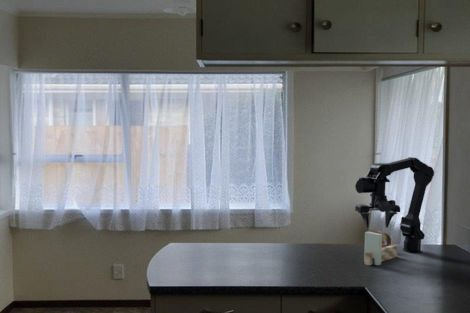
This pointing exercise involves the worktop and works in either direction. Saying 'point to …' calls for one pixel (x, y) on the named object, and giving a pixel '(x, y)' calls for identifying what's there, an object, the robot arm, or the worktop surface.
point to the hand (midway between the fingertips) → (377, 227)
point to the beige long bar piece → (382, 254)
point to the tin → (383, 238)
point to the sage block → (373, 246)
